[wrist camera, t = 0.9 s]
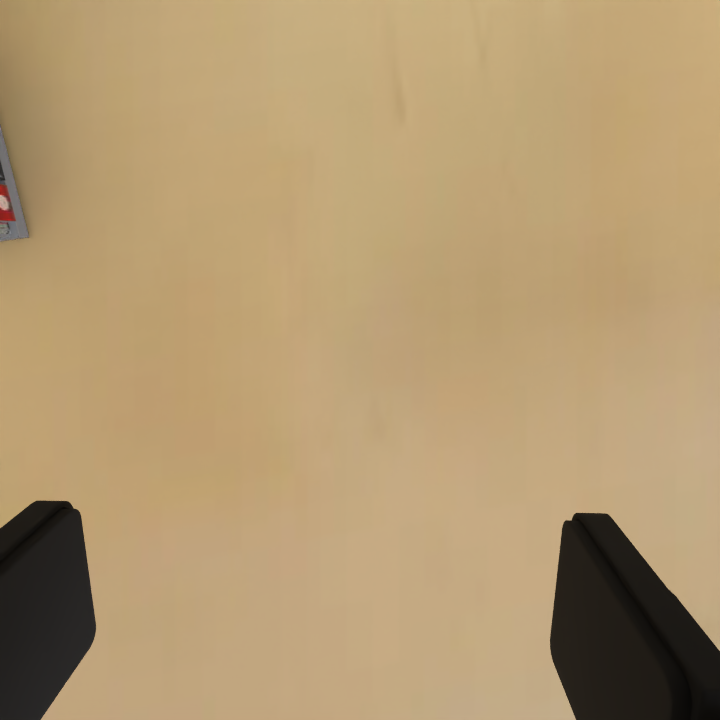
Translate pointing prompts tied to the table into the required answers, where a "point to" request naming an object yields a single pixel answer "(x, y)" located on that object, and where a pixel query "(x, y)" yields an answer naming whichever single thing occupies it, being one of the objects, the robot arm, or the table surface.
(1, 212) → the ribbed grey cuboid
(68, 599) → the robot arm
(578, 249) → the table surface
